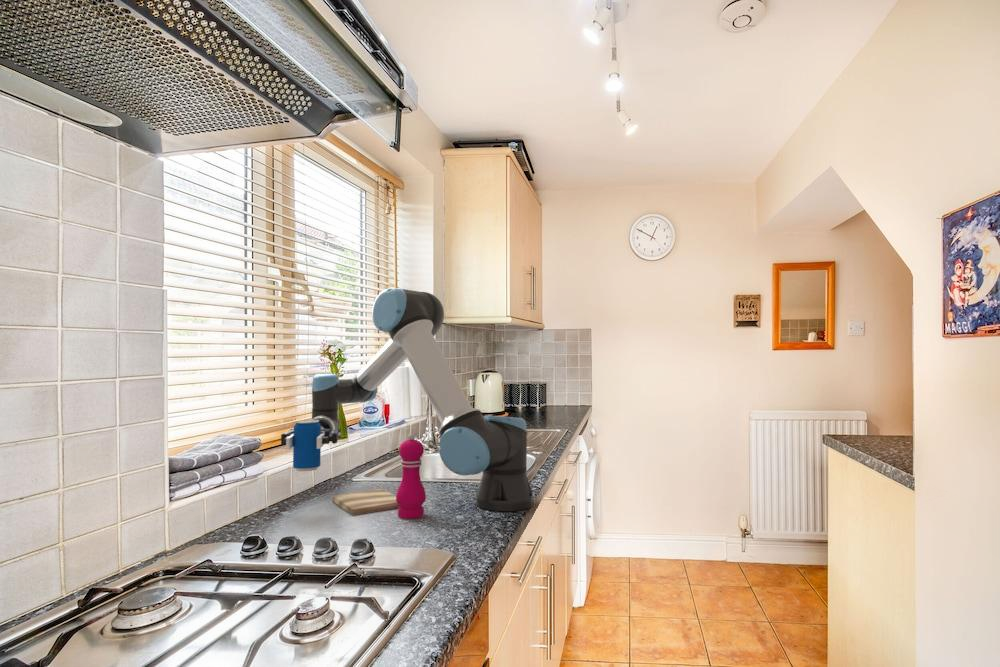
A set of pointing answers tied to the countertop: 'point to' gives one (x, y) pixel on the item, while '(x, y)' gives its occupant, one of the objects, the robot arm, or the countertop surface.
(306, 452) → the beverage can
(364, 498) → the wooden cutting board
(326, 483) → the countertop surface
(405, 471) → the pepper mill
